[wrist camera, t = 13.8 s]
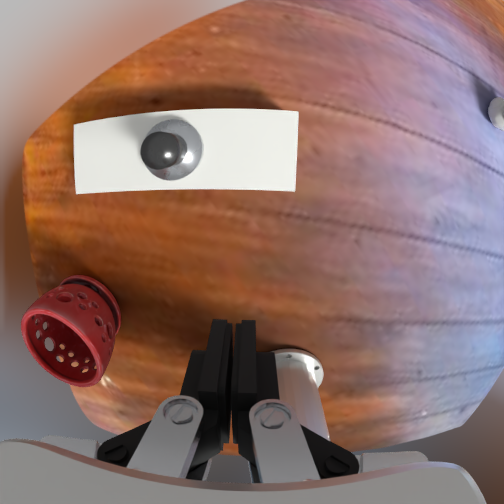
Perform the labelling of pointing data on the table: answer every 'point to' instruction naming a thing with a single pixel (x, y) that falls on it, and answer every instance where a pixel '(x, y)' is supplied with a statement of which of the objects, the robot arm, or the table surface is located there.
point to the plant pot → (74, 329)
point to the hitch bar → (214, 156)
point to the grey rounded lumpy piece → (497, 112)
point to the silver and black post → (172, 149)
